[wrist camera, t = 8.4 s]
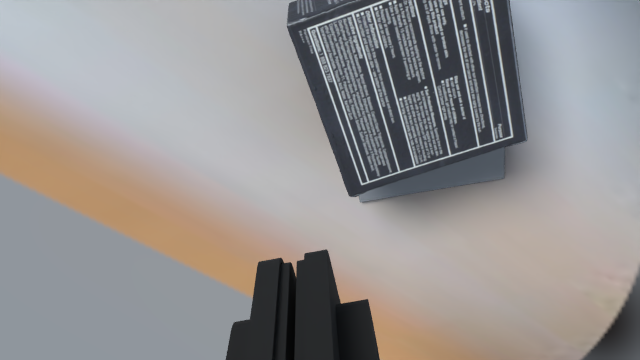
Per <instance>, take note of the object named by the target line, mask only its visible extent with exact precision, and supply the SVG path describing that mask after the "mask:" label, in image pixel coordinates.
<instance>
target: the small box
mask: <svg viewBox="0 0 640 360" xmlns="http://www.w3.org/2000/svg"><path fill="white" fill-rule="evenodd" d="M287 28H288V31H289V34H290V37H291V39H292V42H293V44H294V46H295V49H296V52H297V55H298V58H299V60H300V63H301V65H302V68H303V71H304V74H305V76H306V79H307V82H308V85H309V87H310V90H311V93H312V95H313V98H314V101H315V103H316V106H317V109H318V111H319V114H320V117H321V120H322V123H323V126H324V128H325V131H326V133H327V136H328V139H329V142H330V145H331V147H332V150H333V153H334V155H335V158H336V161H337V164H338V166H339V169H340V172H341V174H342V178H343V181H344V184H345V187H346V189H347V192H348V194H349V196H350V197H356V196H359V195H360V194H364V193H365V192H367V191H369V190H372V189H376V188H379V187H382V186H385V185H388V184H391V183H394V182H397V181H399V180H404V179H407V178H410V177H413V176H416V175H420V174H422V173H426V172H428V171H432V170H435V169H438V168H441V167H444V166H447V165H450V164H453V163H456V162H459V161H463V160H466V159H469V158H472V157H475V156H478V155H481V154H484V153H488V152H491V151H494V150H497V149H500V148H503V147H506V146H511V145H516V144H520V143H523V142H526V141H527V130H526V123H525V115H524V108H523V101H522V94H521V86H520V78H519V70H518V63H517V55H516V47H515V40H514V32H513V24H512V17H511V9H510V1H509V0H297V1H294V2H291V3H289V8H288V18H287Z"/></svg>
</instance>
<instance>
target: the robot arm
mask: <svg viewBox="0 0 640 360" xmlns="http://www.w3.org/2000/svg"><path fill="white" fill-rule="evenodd" d="M226 360H380V359H379V353H378V348H377V342H376V337H375V332H374V326H373V321H372V316H371V311H370V306H369V302H368V299H366V300H361V301H355V302H349V303H343V304H341V303H340V299H339V295H338V291H337V286H336V282H335V278H334V274H333V270H332V266H331V262H330V257H329V253H328V250H322V251H316V252H311V253H305V256H304V260H300V261H297V275H296V276H295V273H294V269H293V266H292V264H291V262H289V263H284V262H283V260H282V258H277V259H272V260H266V261H261V262H259V263H258V266H257V273H256V280H255V287H254V295H253V302H252V309H251V316H250V320H244V321H239V322H235V323H234V324H233V326H232V330H231V334H230V340H229V345H228V351H227V356H226Z"/></svg>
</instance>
